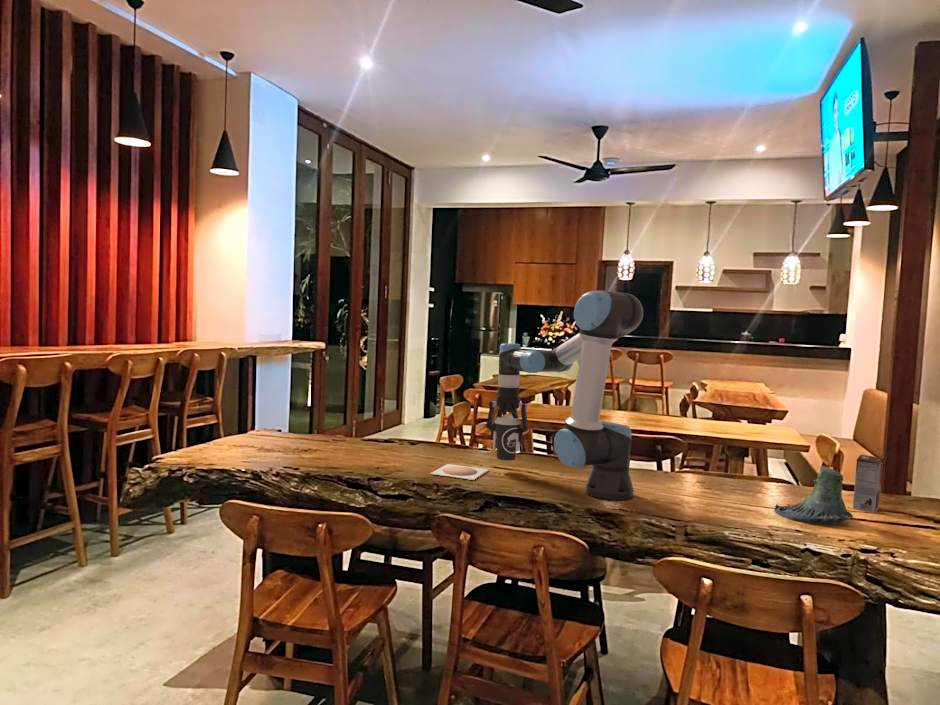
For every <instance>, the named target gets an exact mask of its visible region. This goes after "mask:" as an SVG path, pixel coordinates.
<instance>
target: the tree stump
mask: <svg viewBox="0 0 940 705" xmlns="http://www.w3.org/2000/svg"><path fill="white" fill-rule="evenodd" d="M843 481H844V475H843V474H842V473H840V472H839V471H837V470H835V469H833V468H831V467H828V466H825V465H820V467H819V472H818V475H817V478H816V479H814V480H813V483H814V486H813V489H812V492H811V493H809V494H808V495H807V496H806V497H805V498H804V499H803V500H802V501H800V502H798V503H796V504H792V505H791V504H787V505H782V506H781V505H779V504H776V505H775V506H774V513H775V514H777V516H780V517H783V518H786V519H787V520H791V521H794V522H800V523H808V524H816V525H830V526H835V525H837V524H838V523H839V522H843V521H847V520H850V519H852V518H853V517H854V514H852V513H851V512H850V511H848V510H847V507H846V504H845V502H844V500H843V496H842V495H843V493H842V492H843V487H844V486H843Z"/></svg>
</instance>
